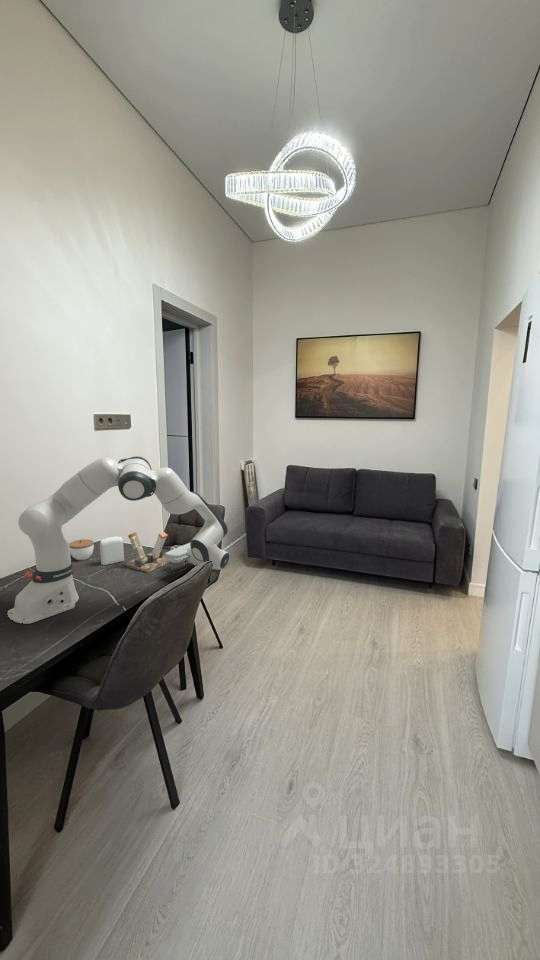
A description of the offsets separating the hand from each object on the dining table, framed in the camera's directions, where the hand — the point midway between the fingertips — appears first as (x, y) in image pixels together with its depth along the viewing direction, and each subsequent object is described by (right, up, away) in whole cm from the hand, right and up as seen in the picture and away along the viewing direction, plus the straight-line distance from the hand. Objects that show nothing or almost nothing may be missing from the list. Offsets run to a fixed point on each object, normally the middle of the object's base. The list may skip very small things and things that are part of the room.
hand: (172, 548), depth 172 cm
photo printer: (-30, -8, +7) cm, 32 cm away
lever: (-11, -6, +7) cm, 14 cm away
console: (-12, -8, +6) cm, 16 cm away
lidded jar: (-47, -7, +12) cm, 49 cm away
